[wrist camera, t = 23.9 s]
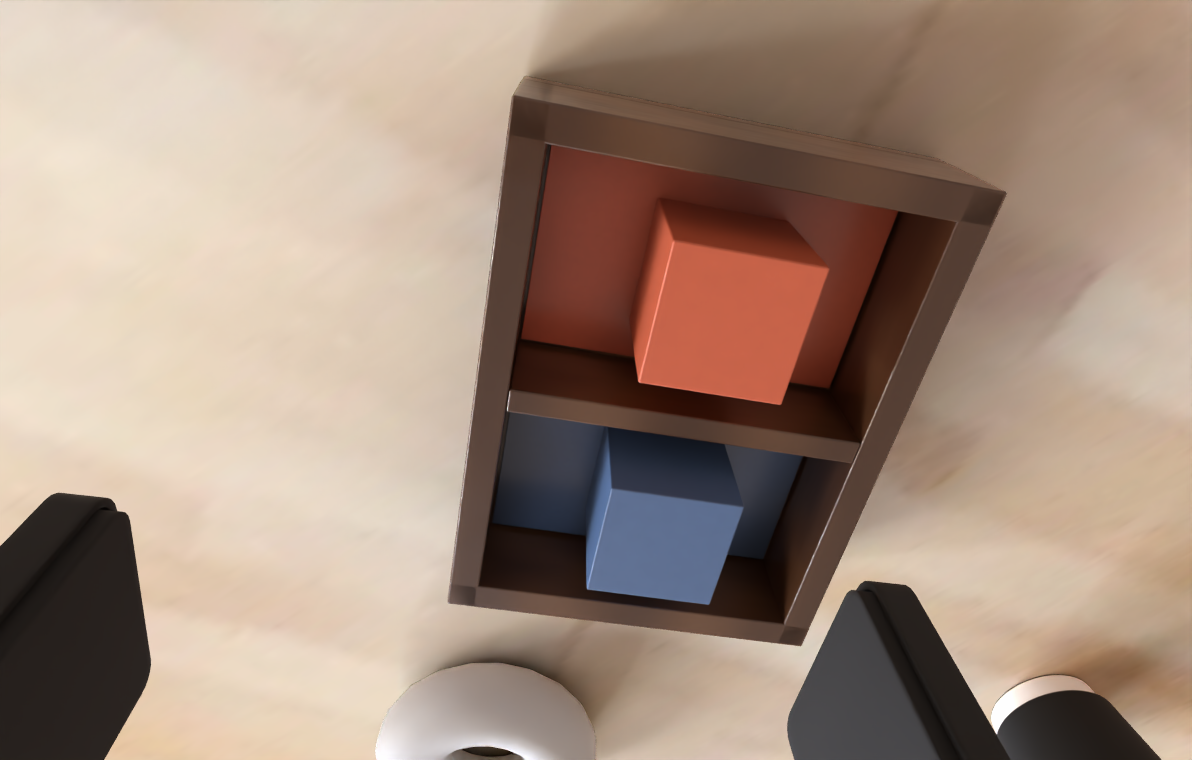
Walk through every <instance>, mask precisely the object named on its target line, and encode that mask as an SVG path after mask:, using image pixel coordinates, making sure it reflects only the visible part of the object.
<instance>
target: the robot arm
mask: <svg viewBox="0 0 1192 760" xmlns="http://www.w3.org/2000/svg"><path fill="white" fill-rule="evenodd" d="M150 667H151V658H150V651H149V645H148V638H147V631H146V625H145V618H144V611H143V605H142V598H141V591H140V585H139V578H138V571H137V565H136V558H135V551H134V545H133V538H132V531H131V525H130V520H129V516H128V515H127V514H126V513H125V512H118V511H117V509H116V506H115V503H114V502H113V501H112V500H111V499H109V498H103V497H93V496H84V495H75V494H66V493H56V494H53V495H51V496H50V497H48V498H47V499H46V500H45V501H44V502H43V503H42V504H41V505H40V506H39V507H38V508H37V509H36V510H35V511H34V512H33V513H32V514H31V515H30V516H29V517H28V518H27V519H26V520H25V521H24V522H23V523H22V524H21V525H20V526H19V527H18V529H17V530H16V531H15V532H14V533H13V534H12V535H11V536H10V537H9V538H8V539H7V540H6V541H5V542H4V543H3V544H2V545H1V546H0V760H104V759H105V757H106V755H107V754H108V752H109V750H110V748H111V747H112V745H113V743H114V741H115V740H116V738H117V736H118V734H119V733H120V731H121V729H122V727H123V726H124V724H125V722H126V721H127V719H128V717H129V715H130V714H131V712H132V710H133V708H134V707H135V705H136V703H137V701H138V700H139V698H140V696H141V694H142V692H143V690H144V688H145V686H146V683H147V681H148V677H149V673H150ZM787 731H788V739H789V743H790V746H791V750H792V753H793V756H794V760H1011V759H1010V758H1009V756H1008V754H1007V752H1006V751H1005V749H1004V747H1003V745H1002V744H1001V742H1000V740H999V738H998V737H997V735H996V733H995V732H994V730H993V728H992V726H991V725H990V723H989V721H988V719H987V718H986V716H985V714H984V712H983V711H982V709H981V707H980V706H979V704H978V702H977V700H976V699H975V697H974V695H973V693H972V692H971V690H970V688H969V687H968V685H967V683H966V681H965V680H964V678H963V676H962V674H961V673H960V671H959V669H958V667H957V666H956V664H955V662H954V661H953V659H952V657H951V655H950V654H949V652H948V650H947V648H946V647H945V645H944V643H943V641H942V640H941V638H940V636H939V635H938V633H937V631H936V629H935V628H934V626H933V624H932V622H931V621H930V619H929V617H928V615H927V614H926V612H925V610H924V609H923V607H922V605H921V603H920V602H919V600H918V598H917V596H916V595H915V593H914V592H913V591H912V589H911V588H909V587H908V586H906V585H900V584H891V583H882V582H873V581H864V582H863V583H861V584H860V585H859V587H858V588H857V590H851V591H849V592H848V593H847V594H846V596H845V598H844V600H843V602H842V604H841V606H840V608H839V610H838V612H837V614H836V617H835V619H834V621H833V623H832V625H831V627H830V629H829V631H828V633H827V636H826V638H825V640H824V642H823V644H822V646H821V648H820V650H819V652H818V654H817V657H816V659H815V661H814V663H813V665H812V667H811V669H810V671H809V673H808V675H807V678H806V680H805V682H804V684H803V686H802V688H801V690H800V692H799V694H798V696H797V699H796V701H795V703H794V705H793V707H792V709H791V711H790V714H789V717H788V726H787Z"/></svg>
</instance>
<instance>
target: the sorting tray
mask: <svg viewBox="0 0 1192 760" xmlns="http://www.w3.org/2000/svg"><path fill="white" fill-rule="evenodd" d="M1006 194H1007V193H1006V192H1005V191H1003V190H1001V189H999V188H997V187H995V186H993V185H991V184H989V183H987V182H985V181H983V180H981V179H979V178H977V177H975V176H973V175H971V174H968V173H966V172H964V171H962V170H960V169H958V168H956V167H954V166H952V165H950V164H947V163H946V162H944V161H942V160H940V159H937V158H932V157H927V156H922V155H917V154H912V153H907V152H902V151H897V150H892V149H887V148H882V147H877V146H872V145H867V144H862V143H857V142H852V141H847V140H842V139H837V138H832V137H827V136H822V135H817V134H812V133H807V132H802V131H797V130H792V129H787V128H783V127H778V126H773V125H768V124H763V123H758V122H753V121H748V120H743V119H738V118H733V117H728V116H723V115H718V114H713V113H708V112H703V111H698V110H693V109H688V108H683V107H678V106H673V105H668V104H663V103H658V102H653V101H648V100H643V99H638V98H633V97H628V96H623V95H618V94H613V93H608V92H603V91H598V90H593V89H588V88H583V87H578V86H573V85H568V84H563V83H558V82H553V81H548V80H543V79H538V78H533V77H528V76H525V77H524V78H523V79H522V81H521V82H520V84H519V86H518V87H517V89H516V91H515V93H514V94H513V96H512V100H511V108H510V116H509V123H508V131H507V139H506V147H505V155H504V163H503V171H502V178H501V186H500V194H499V202H498V210H497V218H496V226H495V233H494V241H493V249H492V257H491V265H490V273H489V280H488V288H487V296H486V304H485V312H484V320H483V328H482V335H481V343H480V351H479V359H478V367H477V375H476V383H475V390H474V398H473V406H472V414H471V422H470V430H469V437H468V445H467V453H466V461H465V469H464V477H463V485H462V492H461V500H460V508H459V516H458V524H457V532H456V539H455V547H454V555H453V563H452V571H451V579H450V586H449V594H448V603H450V604H458V605H466V606H475V607H483V608H491V609H499V610H507V611H516V612H524V613H532V614H540V615H548V616H557V617H565V618H573V619H581V620H590V621H598V622H606V623H614V624H622V625H631V626H639V627H647V628H655V629H663V630H672V631H680V632H688V633H696V634H704V635H713V636H721V637H729V638H737V639H746V640H754V641H762V642H770V643H778V644H787V645H795V646H801V645H802V643H803V641H804V639H805V637H806V635H807V632H808V630H809V627H810V625H811V623H812V621H813V619H814V616H815V614H816V612H817V610H818V608H819V605H820V603H821V601H822V599H823V597H824V594H825V592H826V590H827V588H828V586H829V583H830V581H831V579H832V577H833V575H834V572H835V570H836V568H837V566H838V564H839V561H840V559H841V557H842V555H843V553H844V550H845V548H846V546H847V544H848V542H849V539H850V537H851V535H852V533H853V531H854V528H855V526H856V524H857V522H858V520H859V517H860V515H861V513H862V511H863V509H864V506H865V504H866V502H867V500H868V498H869V495H870V493H871V491H872V489H873V487H874V484H875V482H876V480H877V478H878V476H879V473H880V471H881V469H882V467H883V465H884V462H885V460H886V458H887V456H888V454H889V451H890V449H891V447H892V445H893V443H894V440H895V438H896V436H897V434H898V432H899V429H900V427H901V425H902V423H903V421H904V418H905V416H906V414H907V412H908V410H909V408H910V405H911V403H912V401H913V399H914V397H915V394H916V392H917V390H918V388H919V386H920V383H921V381H922V379H923V377H924V375H925V372H926V370H927V368H928V366H929V364H930V361H931V359H932V357H933V355H934V353H935V350H936V348H937V346H938V344H939V342H940V339H941V337H942V335H943V333H944V331H945V328H946V326H947V324H948V322H949V320H950V317H951V315H952V313H953V311H954V309H955V306H956V304H957V302H958V300H959V298H960V295H961V293H962V291H963V289H964V287H965V284H966V282H967V280H968V278H969V276H970V273H971V271H972V269H973V267H974V265H975V262H976V260H977V258H978V256H979V254H980V251H981V249H982V247H983V245H984V243H985V240H986V238H987V236H988V234H989V232H990V229H991V227H992V225H993V223H994V221H995V219H996V217H997V214H998V212H999V210H1000V208H1001V206H1002V203H1003V201H1004V199H1005V197H1006ZM658 198H664V199H670V200H675V201H680V202H686V203H691V204H697V205H702V206H707V207H713V208H718V209H723V210H729V211H734V212H740V213H745V214H750V215H756V216H761V217H766V218H772V219H777V220H783V221H788V222H790V223H791V224H792V226H793V227H794V228H795V229H796V230H797V231H798V232H799V234H800V235H801V236H802V237H803V238H804V239H805V240H806V241H807V243H808V244H809V245H810V246H811V247H812V248H813V249H814V251H815V252H816V253H817V254H818V255H819V256H820V257H821V259H822V260H823V261H824V262H825V263H826V264H827V265H828V267H829V268H830V270H829V273H828V275H827V278H826V281H825V284H824V287H823V289H822V292H821V295H820V298H819V301H818V303H817V306H816V309H815V312H814V315H813V317H812V320H811V323H810V326H809V328H808V331H807V334H806V337H805V340H804V342H803V345H802V348H801V351H800V354H799V356H798V359H797V362H796V365H795V368H794V370H793V373H792V376H791V379H790V382H789V384H788V387H787V390H786V393H785V396H784V398H783V401H782V404H781V405H778V404H771V403H765V402H759V401H752V400H746V399H740V398H733V397H727V396H721V395H714V394H708V393H702V392H695V391H689V390H683V389H676V388H670V387H664V386H657V385H651V384H645V383H640V382H638V376H637V369H636V363H635V356H634V349H633V342H632V336H631V329H630V322H629V320H630V316H631V312H632V307H633V303H634V299H635V294H636V290H637V285H638V281H639V277H640V272H641V268H642V264H643V259H644V255H645V251H646V246H647V242H648V238H649V233H650V229H651V225H652V220H653V216H654V212H655V207H656V203H657V199H658ZM605 426H607V427H613V428H620V429H627V430H633V431H640V432H647V433H653V434H660V435H666V436H673V437H680V438H686V439H693V440H700V441H706V442H713V443H720V444H725V447H726V450H727V454H728V457H729V460H730V463H731V466H732V469H733V473H734V476H735V479H736V482H737V485H738V489H739V492H740V495H741V498H742V501H743V504H744V509H743V512H742V515H741V518H740V520H739V523H738V526H737V529H736V532H735V534H734V537H733V540H732V543H731V546H730V548H729V551H728V554H727V557H726V560H725V562H724V565H723V568H722V571H721V574H720V576H719V579H718V582H717V585H716V588H715V590H714V593H713V596H712V599H711V601H710V604H709V605H708V604H700V603H692V602H684V601H676V600H668V599H660V598H652V597H644V596H636V595H628V594H620V593H613V592H605V591H597V590H589V589H587V583H586V505H587V501H588V496H589V492H590V488H591V483H592V479H593V475H594V470H595V466H596V461H597V457H598V453H599V448H600V444H601V440H602V435H603V431H604V427H605Z"/></svg>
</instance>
